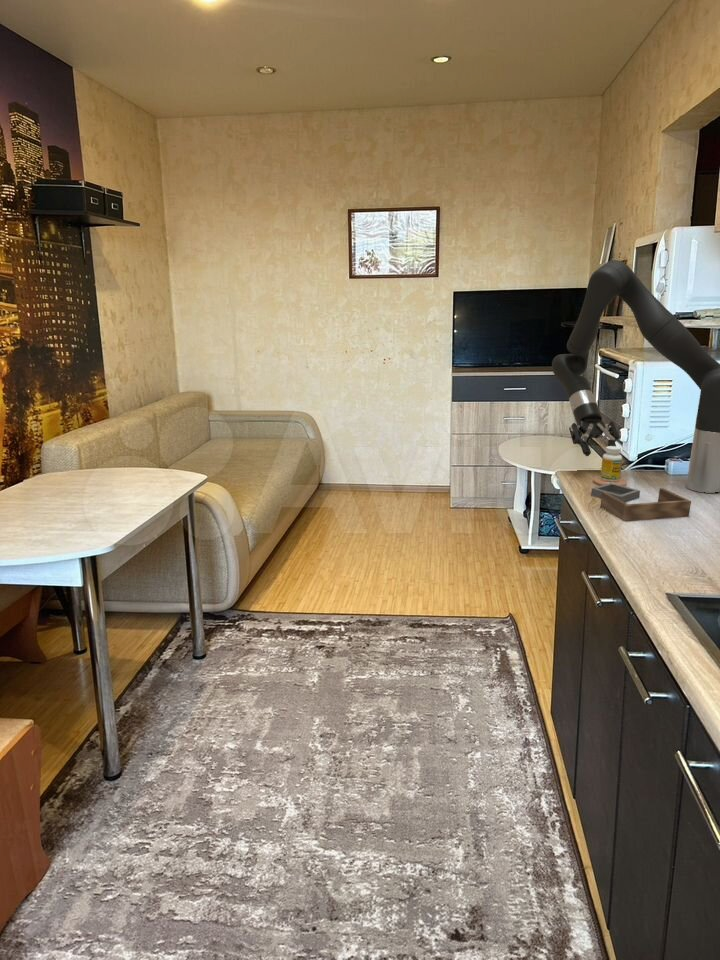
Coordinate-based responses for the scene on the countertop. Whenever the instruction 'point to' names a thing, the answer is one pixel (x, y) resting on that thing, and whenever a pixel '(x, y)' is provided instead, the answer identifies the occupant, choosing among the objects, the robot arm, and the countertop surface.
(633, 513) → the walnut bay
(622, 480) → the tan round disc
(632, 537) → the countertop surface
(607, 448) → the supplement bottle
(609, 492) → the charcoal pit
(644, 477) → the countertop surface
